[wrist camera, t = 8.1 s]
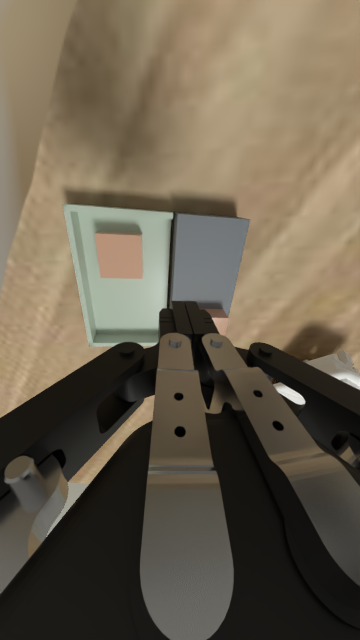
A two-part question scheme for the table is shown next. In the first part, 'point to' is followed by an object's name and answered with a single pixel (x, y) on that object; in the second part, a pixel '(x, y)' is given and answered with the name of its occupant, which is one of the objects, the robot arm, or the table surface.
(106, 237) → the tile left
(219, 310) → the tile right
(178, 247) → the grey flat block
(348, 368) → the tape dispenser
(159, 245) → the tray
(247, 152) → the table surface
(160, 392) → the robot arm
